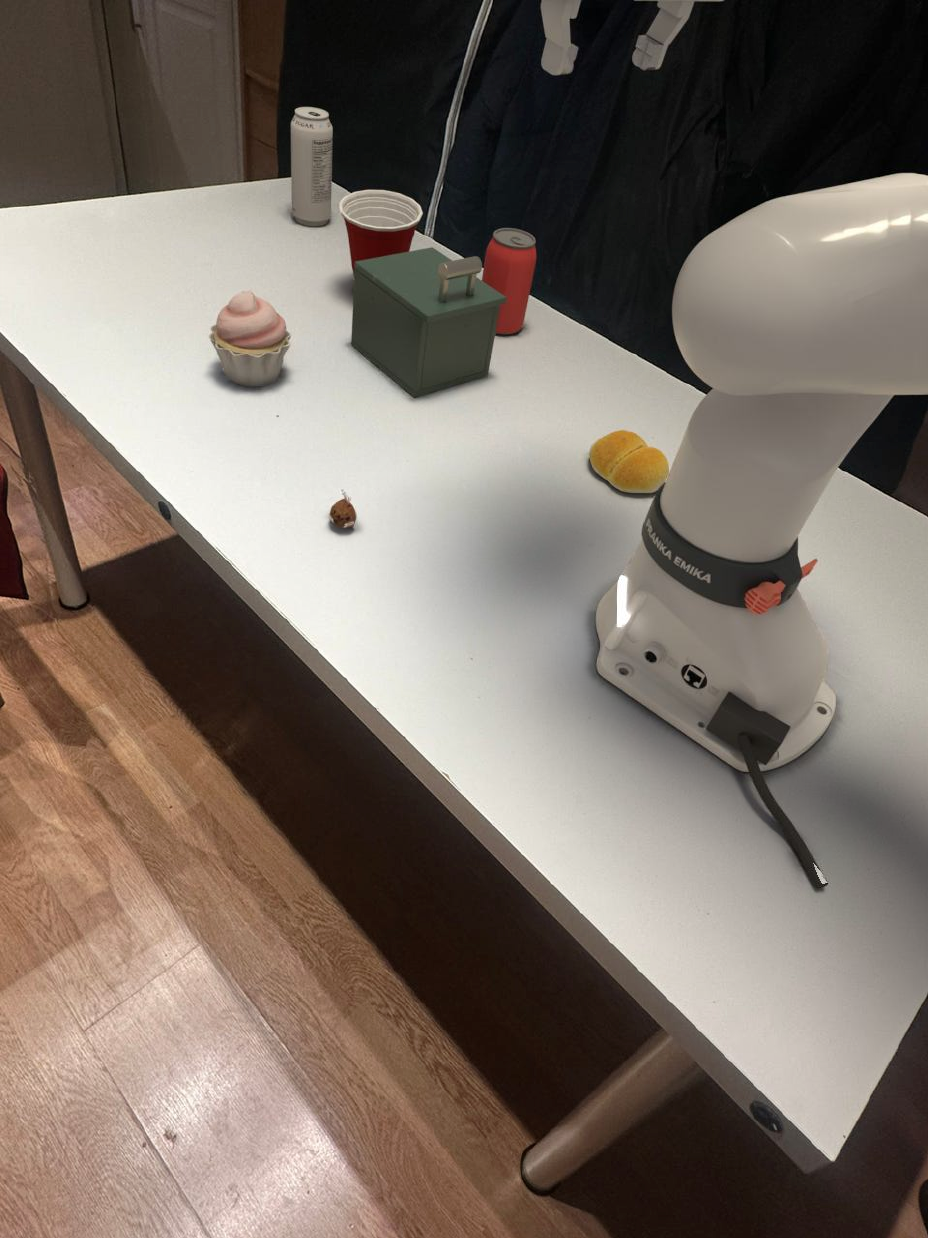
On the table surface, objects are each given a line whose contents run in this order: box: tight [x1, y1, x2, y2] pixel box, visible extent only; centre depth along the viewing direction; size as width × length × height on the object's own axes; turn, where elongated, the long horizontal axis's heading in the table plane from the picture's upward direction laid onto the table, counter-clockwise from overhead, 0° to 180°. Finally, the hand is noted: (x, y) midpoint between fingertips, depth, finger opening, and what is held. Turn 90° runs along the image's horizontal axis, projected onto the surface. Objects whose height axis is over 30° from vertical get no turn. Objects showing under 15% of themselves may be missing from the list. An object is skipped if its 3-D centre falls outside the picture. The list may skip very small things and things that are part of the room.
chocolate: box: [328, 488, 358, 529], centre depth 79 cm, size 3×2×4 cm
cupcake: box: [208, 289, 293, 387], centre depth 93 cm, size 9×9×10 cm
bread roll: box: [589, 429, 670, 494], centre depth 92 cm, size 8×9×4 cm
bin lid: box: [354, 247, 506, 323], centre depth 95 cm, size 14×12×5 cm
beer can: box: [481, 227, 537, 335], centre depth 109 cm, size 7×7×12 cm
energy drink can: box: [290, 106, 334, 227], centre depth 124 cm, size 6×6×15 cm
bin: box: [350, 269, 500, 399], centre depth 101 cm, size 14×12×10 cm
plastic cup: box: [338, 189, 424, 276], centre depth 110 cm, size 11×11×12 cm
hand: (601, 69), depth 60 cm, fingers open, 8 cm apart
